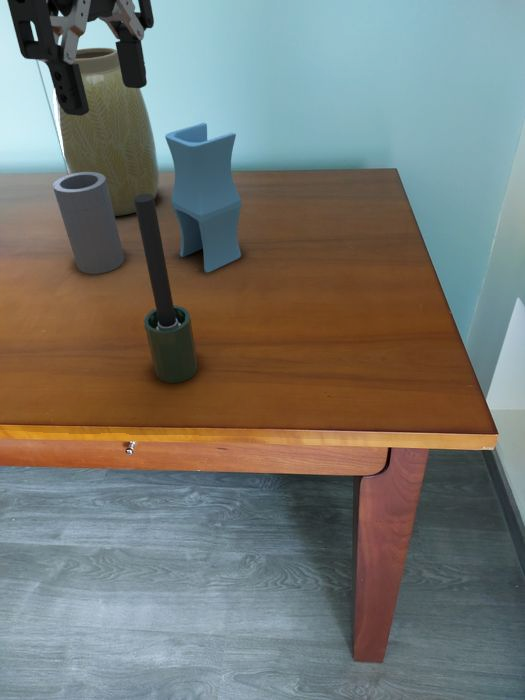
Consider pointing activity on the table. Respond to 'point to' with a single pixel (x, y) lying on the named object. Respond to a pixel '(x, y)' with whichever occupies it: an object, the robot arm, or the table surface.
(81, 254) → the cup
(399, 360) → the table surface
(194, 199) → the blue bent piece
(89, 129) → the vase
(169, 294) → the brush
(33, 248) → the table surface
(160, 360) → the holder
